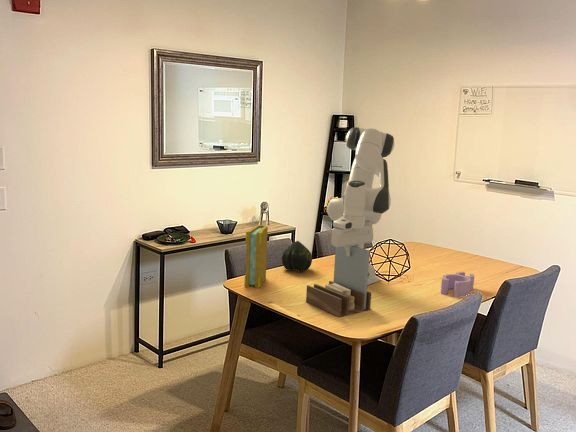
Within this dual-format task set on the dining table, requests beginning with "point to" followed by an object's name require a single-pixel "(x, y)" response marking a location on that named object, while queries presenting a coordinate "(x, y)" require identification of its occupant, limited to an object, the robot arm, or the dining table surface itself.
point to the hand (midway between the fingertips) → (351, 255)
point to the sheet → (352, 269)
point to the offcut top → (339, 289)
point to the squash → (297, 257)
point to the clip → (457, 283)
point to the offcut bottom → (351, 306)
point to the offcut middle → (351, 299)
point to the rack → (336, 300)
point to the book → (256, 255)
